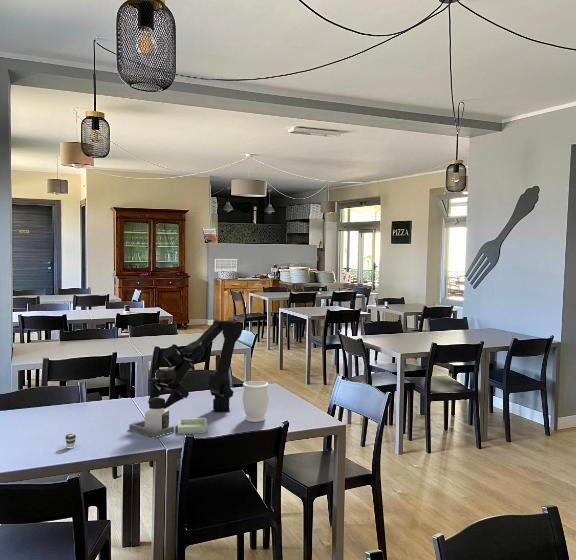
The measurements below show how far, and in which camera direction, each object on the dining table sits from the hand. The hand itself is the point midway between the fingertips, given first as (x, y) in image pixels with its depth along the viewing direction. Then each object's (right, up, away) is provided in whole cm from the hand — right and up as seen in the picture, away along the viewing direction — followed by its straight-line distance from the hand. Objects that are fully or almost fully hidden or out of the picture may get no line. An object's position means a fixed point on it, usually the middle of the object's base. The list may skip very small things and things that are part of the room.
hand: (156, 405), depth 218 cm
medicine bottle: (0, -9, +1) cm, 9 cm away
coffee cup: (-25, -11, -20) cm, 34 cm away
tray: (+14, -9, +2) cm, 17 cm away
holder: (-2, -9, -1) cm, 9 cm away
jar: (+37, -9, +15) cm, 41 cm away
